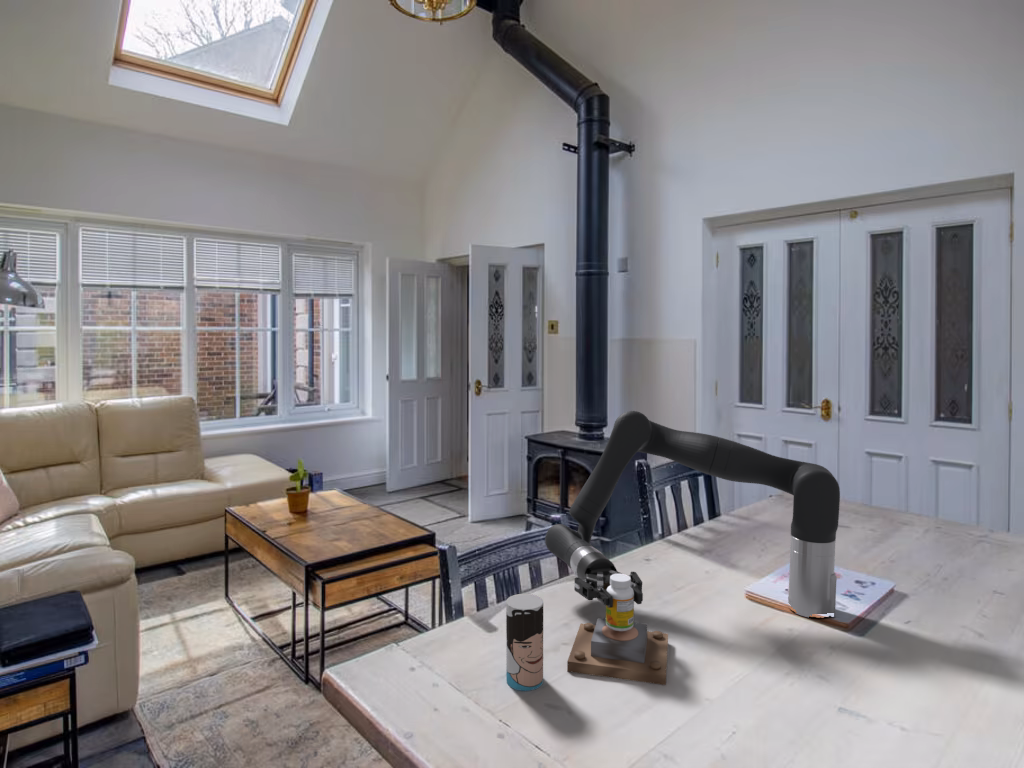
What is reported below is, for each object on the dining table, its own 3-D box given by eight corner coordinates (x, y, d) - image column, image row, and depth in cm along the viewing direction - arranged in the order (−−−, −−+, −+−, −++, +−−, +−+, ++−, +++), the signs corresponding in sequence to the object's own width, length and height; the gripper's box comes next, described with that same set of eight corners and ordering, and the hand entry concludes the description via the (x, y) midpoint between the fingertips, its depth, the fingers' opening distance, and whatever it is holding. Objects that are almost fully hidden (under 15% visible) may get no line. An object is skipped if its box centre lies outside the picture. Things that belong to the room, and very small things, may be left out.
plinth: (667, 643, 130) (668, 618, 130) (665, 685, 115) (666, 657, 114) (580, 632, 135) (580, 608, 134) (567, 671, 119) (567, 644, 119)
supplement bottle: (602, 619, 127) (603, 572, 126) (629, 618, 127) (630, 571, 126) (609, 632, 122) (609, 583, 121) (636, 631, 122) (637, 582, 121)
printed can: (510, 693, 112) (510, 611, 111) (502, 673, 119) (502, 595, 118) (547, 688, 114) (547, 607, 113) (537, 668, 120) (537, 592, 119)
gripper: (561, 554, 135) (591, 586, 119) (623, 548, 139) (660, 578, 123) (560, 588, 136) (590, 624, 120) (622, 581, 140) (659, 615, 124)
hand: (625, 600), depth 121 cm, fingers closed on supplement bottle, 5 cm apart
